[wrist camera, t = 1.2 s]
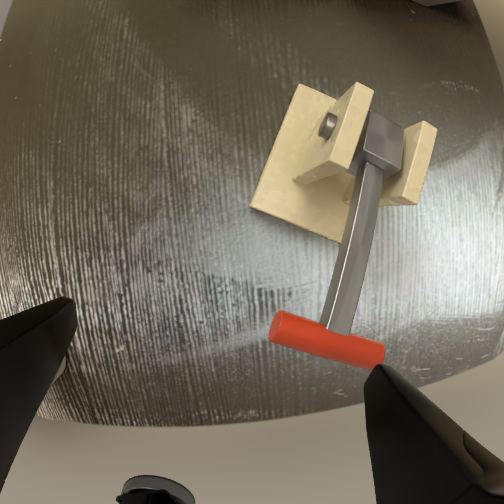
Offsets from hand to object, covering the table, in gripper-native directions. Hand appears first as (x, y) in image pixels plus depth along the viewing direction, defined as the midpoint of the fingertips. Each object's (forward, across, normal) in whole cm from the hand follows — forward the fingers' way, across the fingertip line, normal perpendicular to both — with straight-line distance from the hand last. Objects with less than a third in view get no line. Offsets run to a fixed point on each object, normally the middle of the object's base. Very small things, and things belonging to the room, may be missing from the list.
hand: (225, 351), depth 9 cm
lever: (+8, -5, -2) cm, 9 cm away
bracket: (+17, -5, -4) cm, 19 cm away
